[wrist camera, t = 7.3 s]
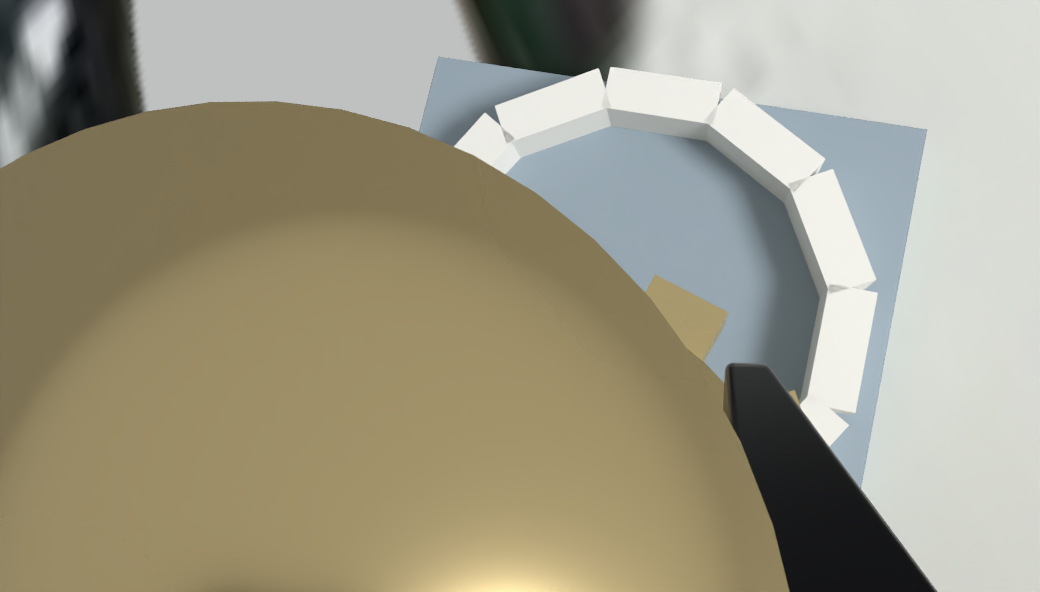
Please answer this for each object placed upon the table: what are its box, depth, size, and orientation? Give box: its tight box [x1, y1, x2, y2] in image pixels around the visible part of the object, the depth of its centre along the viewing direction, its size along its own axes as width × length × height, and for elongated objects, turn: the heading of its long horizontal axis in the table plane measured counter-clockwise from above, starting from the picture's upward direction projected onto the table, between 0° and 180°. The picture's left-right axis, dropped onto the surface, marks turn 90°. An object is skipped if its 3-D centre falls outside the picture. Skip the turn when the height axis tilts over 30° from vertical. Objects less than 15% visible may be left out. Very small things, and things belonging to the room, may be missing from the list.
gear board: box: [419, 57, 927, 488], centre depth 20 cm, size 17×12×2 cm
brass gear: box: [0, 101, 801, 592], centre depth 9 cm, size 7×7×13 cm
